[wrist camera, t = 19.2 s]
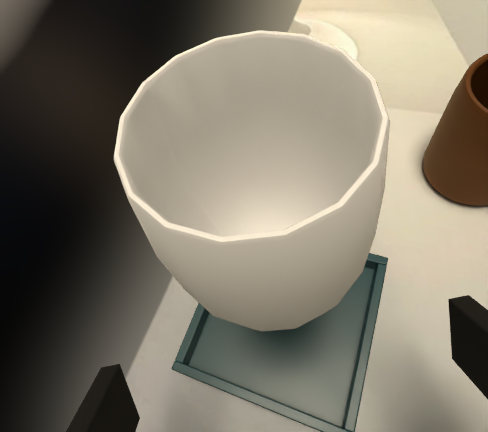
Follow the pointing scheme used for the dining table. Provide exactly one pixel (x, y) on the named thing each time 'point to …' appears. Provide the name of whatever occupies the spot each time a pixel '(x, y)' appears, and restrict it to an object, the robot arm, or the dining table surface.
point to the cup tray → (293, 357)
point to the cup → (258, 173)
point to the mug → (462, 141)
